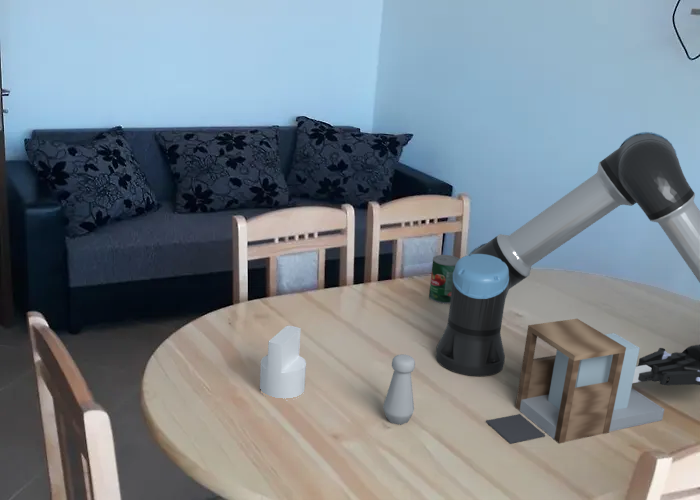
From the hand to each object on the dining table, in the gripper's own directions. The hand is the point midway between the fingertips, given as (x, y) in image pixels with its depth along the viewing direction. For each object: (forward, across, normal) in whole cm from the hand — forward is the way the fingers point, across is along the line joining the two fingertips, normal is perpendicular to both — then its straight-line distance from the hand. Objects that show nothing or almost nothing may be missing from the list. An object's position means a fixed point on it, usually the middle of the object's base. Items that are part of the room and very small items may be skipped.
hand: (623, 376), depth 154 cm
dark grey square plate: (+24, +1, -8) cm, 26 cm away
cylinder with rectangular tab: (+61, +29, -8) cm, 68 cm away
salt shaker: (+44, +11, -8) cm, 46 cm away
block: (+7, +1, -5) cm, 9 cm away
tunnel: (+13, +1, -8) cm, 15 cm away
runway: (+6, +1, -8) cm, 10 cm away
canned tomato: (+3, +63, -8) cm, 63 cm away
